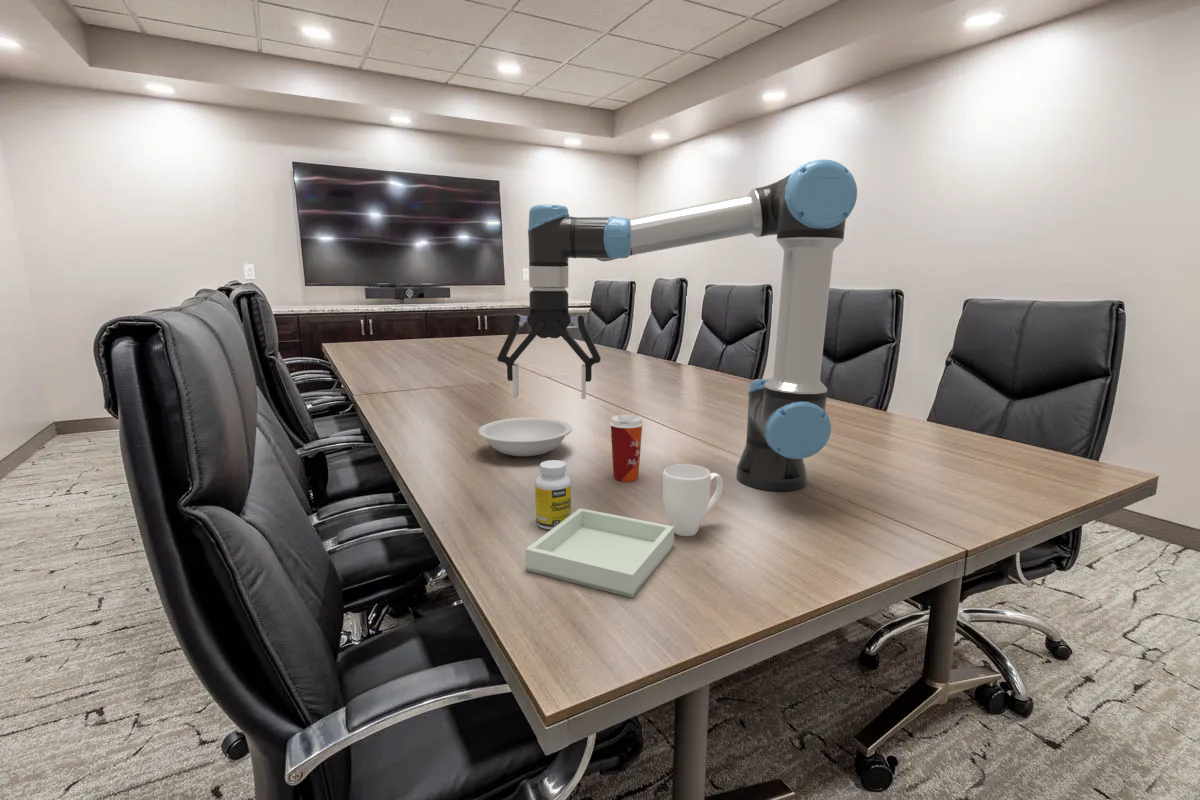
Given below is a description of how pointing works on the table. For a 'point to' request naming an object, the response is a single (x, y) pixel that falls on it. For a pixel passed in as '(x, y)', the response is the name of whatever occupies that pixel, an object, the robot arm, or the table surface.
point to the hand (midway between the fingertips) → (549, 397)
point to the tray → (601, 551)
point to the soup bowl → (525, 435)
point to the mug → (688, 496)
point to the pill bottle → (552, 494)
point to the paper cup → (626, 446)
